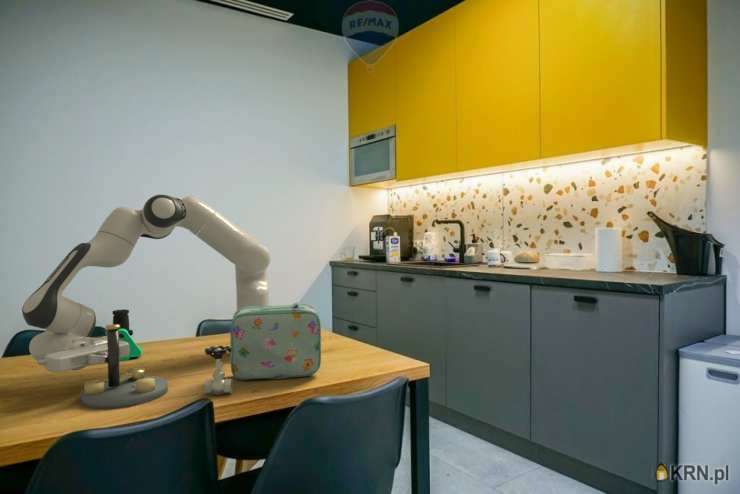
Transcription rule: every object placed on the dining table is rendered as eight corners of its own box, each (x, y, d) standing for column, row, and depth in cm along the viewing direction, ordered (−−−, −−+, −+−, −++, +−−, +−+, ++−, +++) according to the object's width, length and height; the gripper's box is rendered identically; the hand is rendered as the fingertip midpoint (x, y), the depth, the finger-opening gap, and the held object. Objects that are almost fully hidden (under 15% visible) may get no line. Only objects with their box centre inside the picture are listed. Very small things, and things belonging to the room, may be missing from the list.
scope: (106, 313, 169) (109, 309, 178) (107, 352, 169) (109, 346, 179) (131, 312, 172) (133, 308, 182) (132, 349, 173) (133, 344, 182)
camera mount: (142, 354, 167) (141, 325, 167) (141, 359, 160) (140, 328, 160) (103, 357, 162) (102, 328, 162) (100, 363, 155) (99, 332, 155)
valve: (209, 390, 125) (208, 345, 125) (234, 390, 126) (233, 345, 126) (202, 399, 119) (201, 351, 119) (229, 398, 119) (228, 351, 119)
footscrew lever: (134, 375, 132) (133, 318, 132) (148, 376, 131) (147, 319, 131) (102, 388, 121) (100, 326, 120) (116, 389, 120) (115, 326, 119)
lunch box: (321, 367, 147) (321, 299, 146) (325, 377, 137) (325, 303, 136) (232, 373, 141) (231, 302, 141) (229, 384, 131) (228, 307, 131)
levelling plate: (177, 381, 134) (176, 365, 134) (153, 406, 114) (152, 387, 114) (102, 384, 131) (102, 368, 131) (64, 410, 112) (64, 391, 111)
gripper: (33, 349, 118) (66, 356, 112) (110, 334, 137) (142, 339, 131) (33, 374, 119) (66, 382, 112) (110, 356, 137) (142, 362, 131)
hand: (108, 359), depth 122 cm, fingers closed, pressing on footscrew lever
